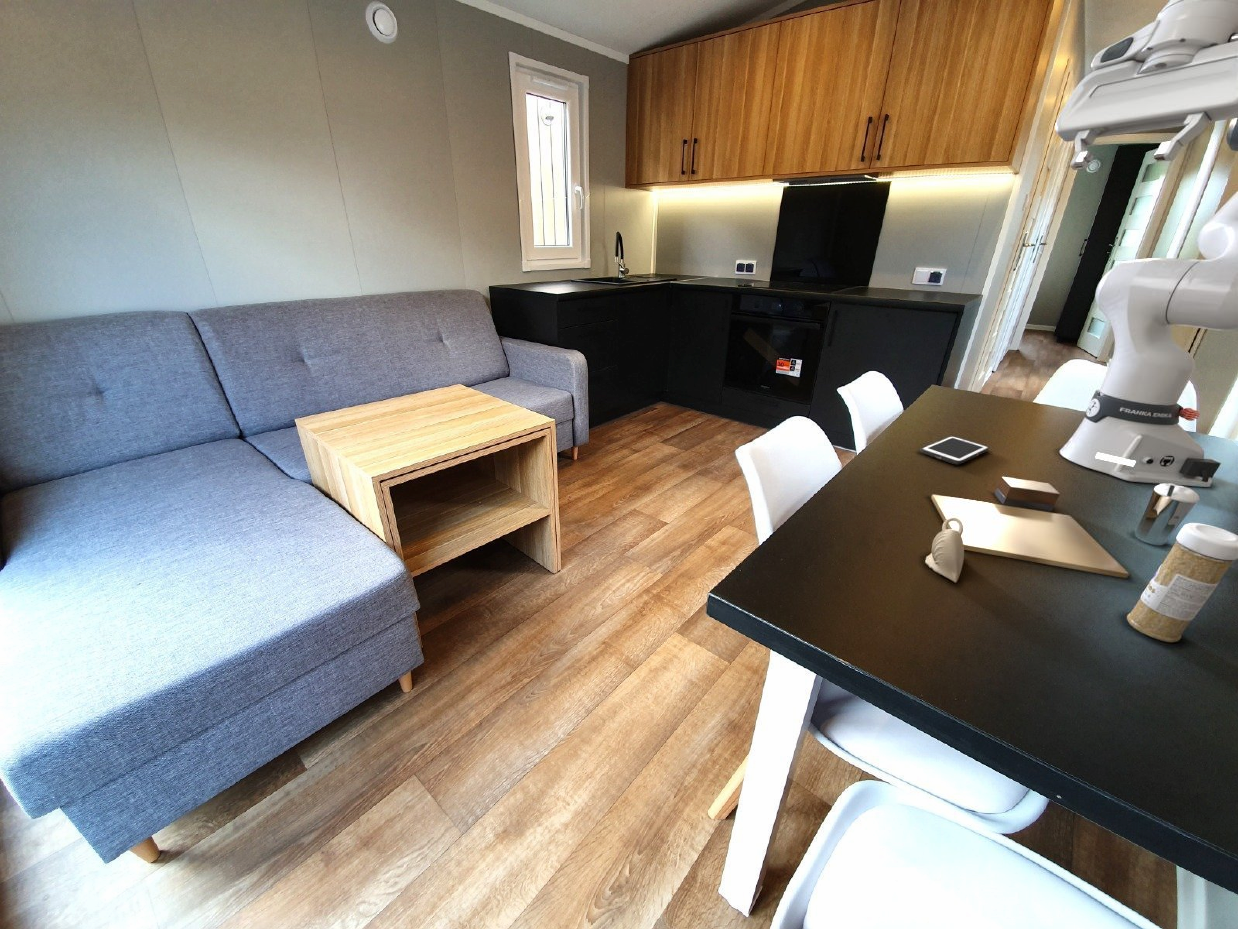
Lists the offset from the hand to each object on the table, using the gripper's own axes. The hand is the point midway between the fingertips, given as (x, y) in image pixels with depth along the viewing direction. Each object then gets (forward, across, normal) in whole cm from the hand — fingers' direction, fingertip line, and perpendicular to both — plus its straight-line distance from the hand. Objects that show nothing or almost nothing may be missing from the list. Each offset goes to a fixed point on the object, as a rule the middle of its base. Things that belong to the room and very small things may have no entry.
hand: (1117, 163), depth 66 cm
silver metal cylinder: (+45, -18, -25) cm, 55 cm away
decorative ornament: (+57, -13, +10) cm, 59 cm away
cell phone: (+44, +15, -27) cm, 54 cm away
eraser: (+47, -4, -18) cm, 51 cm away
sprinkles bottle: (+53, -30, -2) cm, 61 cm away
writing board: (+51, -11, -8) cm, 52 cm away
